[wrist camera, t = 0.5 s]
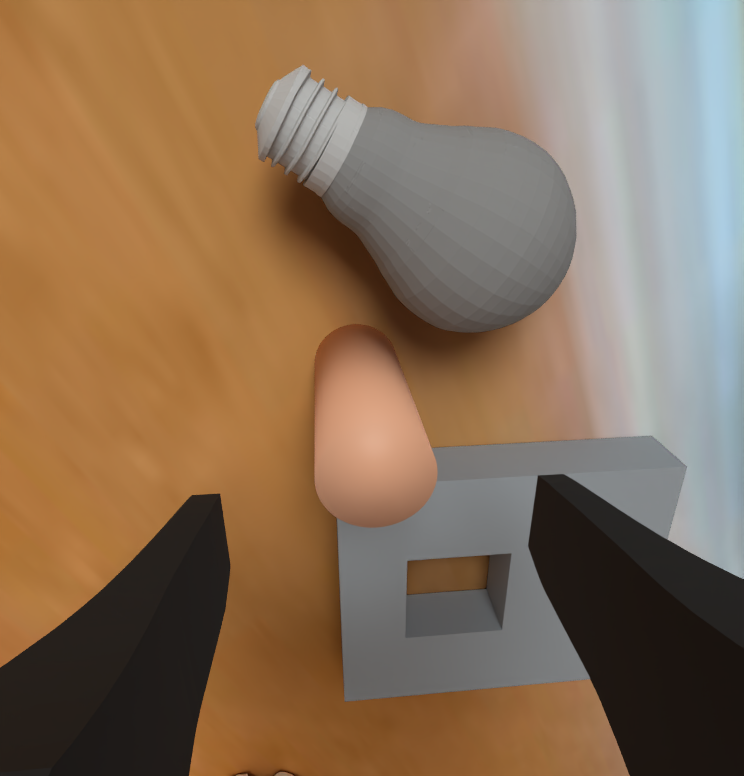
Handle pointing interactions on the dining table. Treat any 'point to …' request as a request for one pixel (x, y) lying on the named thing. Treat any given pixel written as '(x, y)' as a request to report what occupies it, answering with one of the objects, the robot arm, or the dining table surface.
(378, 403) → the peg
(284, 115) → the light bulb
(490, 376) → the dining table surface
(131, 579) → the robot arm
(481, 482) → the socket board
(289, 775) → the water bottle
